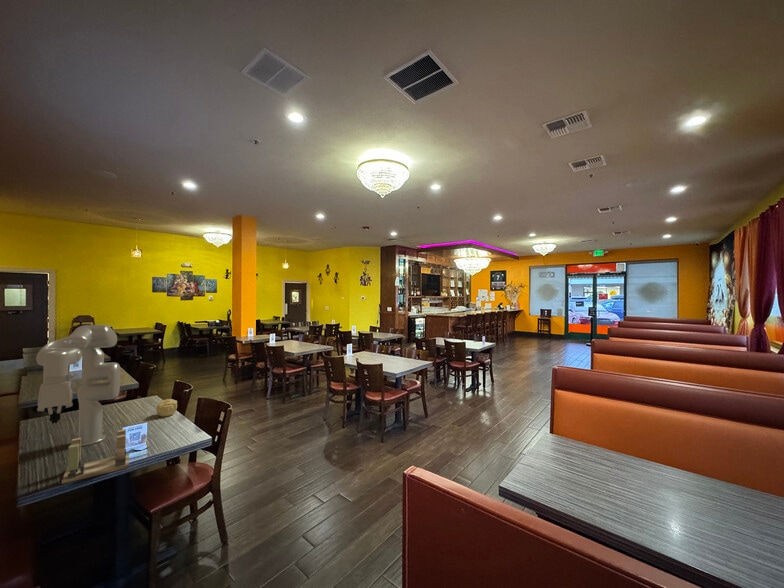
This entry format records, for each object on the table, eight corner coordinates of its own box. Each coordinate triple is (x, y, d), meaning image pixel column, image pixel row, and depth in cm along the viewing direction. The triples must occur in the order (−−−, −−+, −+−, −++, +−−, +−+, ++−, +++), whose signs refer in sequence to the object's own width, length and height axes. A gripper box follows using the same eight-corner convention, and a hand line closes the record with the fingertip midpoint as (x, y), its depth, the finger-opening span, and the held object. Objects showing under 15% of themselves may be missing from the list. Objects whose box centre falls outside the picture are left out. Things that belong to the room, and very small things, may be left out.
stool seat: (67, 470, 148) (68, 438, 148) (129, 456, 161) (129, 427, 162) (61, 484, 137) (62, 450, 137) (128, 467, 150) (129, 436, 151)
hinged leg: (68, 474, 142) (70, 444, 142) (78, 471, 143) (79, 443, 144) (67, 478, 138) (68, 448, 139) (76, 475, 140) (78, 446, 141)
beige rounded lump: (157, 419, 209) (157, 403, 210) (155, 414, 218) (155, 398, 219) (178, 415, 217) (178, 399, 217) (175, 410, 226) (175, 395, 226)
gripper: (81, 375, 146) (80, 415, 146) (32, 380, 137) (31, 423, 137) (78, 379, 141) (77, 421, 141) (27, 384, 131) (27, 429, 131)
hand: (55, 422), depth 139 cm, fingers closed
